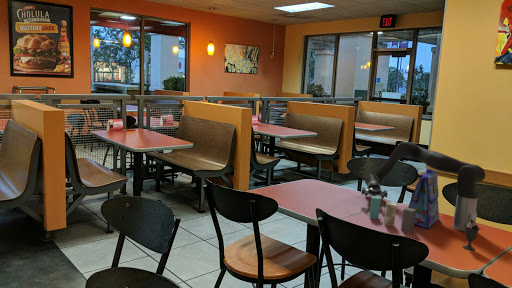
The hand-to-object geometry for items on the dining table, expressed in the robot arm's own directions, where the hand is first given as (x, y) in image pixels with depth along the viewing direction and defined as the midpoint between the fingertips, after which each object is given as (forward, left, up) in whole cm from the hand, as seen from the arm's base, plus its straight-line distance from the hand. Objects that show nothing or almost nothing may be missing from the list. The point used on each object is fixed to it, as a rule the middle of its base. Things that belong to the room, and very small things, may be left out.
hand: (374, 195), depth 228 cm
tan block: (-18, +11, -9) cm, 23 cm away
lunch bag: (-23, -10, -9) cm, 27 cm away
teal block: (-7, +9, -9) cm, 14 cm away
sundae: (-55, +3, -9) cm, 56 cm away
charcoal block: (-28, +10, -9) cm, 31 cm away
